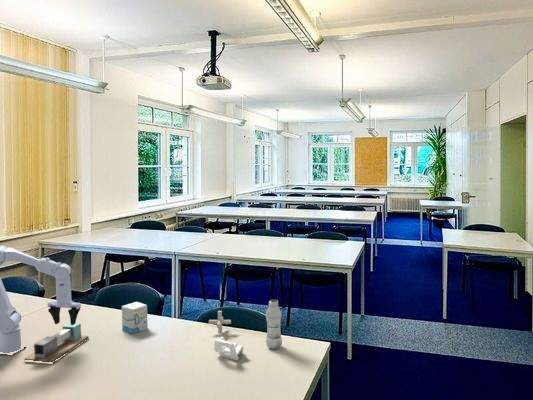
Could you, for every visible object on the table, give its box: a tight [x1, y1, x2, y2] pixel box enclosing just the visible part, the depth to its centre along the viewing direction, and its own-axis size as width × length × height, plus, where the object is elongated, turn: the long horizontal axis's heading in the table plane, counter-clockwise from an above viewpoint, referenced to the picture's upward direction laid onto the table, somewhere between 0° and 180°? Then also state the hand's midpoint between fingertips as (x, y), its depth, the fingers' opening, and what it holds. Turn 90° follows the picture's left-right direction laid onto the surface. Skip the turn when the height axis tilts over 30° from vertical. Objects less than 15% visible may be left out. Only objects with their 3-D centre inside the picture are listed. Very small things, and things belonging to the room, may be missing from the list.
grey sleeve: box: [33, 335, 58, 359], centre depth 168 cm, size 5×8×6 cm, turn 170°
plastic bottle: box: [265, 299, 283, 350], centre depth 174 cm, size 6×7×20 cm
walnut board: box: [24, 335, 89, 362], centre depth 175 cm, size 12×24×2 cm, turn 170°
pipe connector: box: [208, 310, 232, 334], centre depth 191 cm, size 10×10×10 cm
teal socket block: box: [62, 322, 82, 340], centre depth 184 cm, size 6×4×6 cm
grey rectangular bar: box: [51, 328, 73, 345], centre depth 178 cm, size 3×13×3 cm, turn 170°
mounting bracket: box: [213, 336, 244, 361], centre depth 168 cm, size 12×6×11 cm, turn 59°
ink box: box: [121, 301, 149, 334], centre depth 196 cm, size 8×8×12 cm
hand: (65, 323), depth 179 cm, fingers open, 7 cm apart
